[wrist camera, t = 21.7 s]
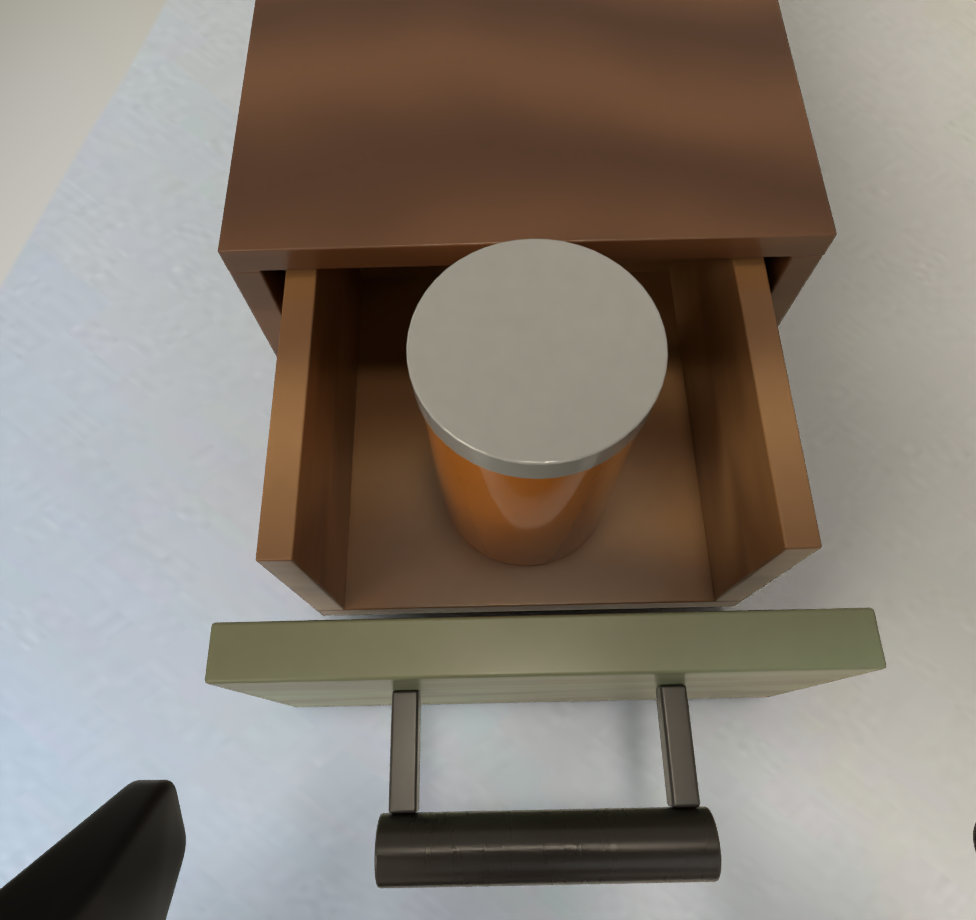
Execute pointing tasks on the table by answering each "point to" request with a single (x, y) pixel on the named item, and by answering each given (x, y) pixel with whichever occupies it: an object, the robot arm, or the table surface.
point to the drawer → (537, 570)
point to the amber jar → (533, 391)
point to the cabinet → (519, 138)
